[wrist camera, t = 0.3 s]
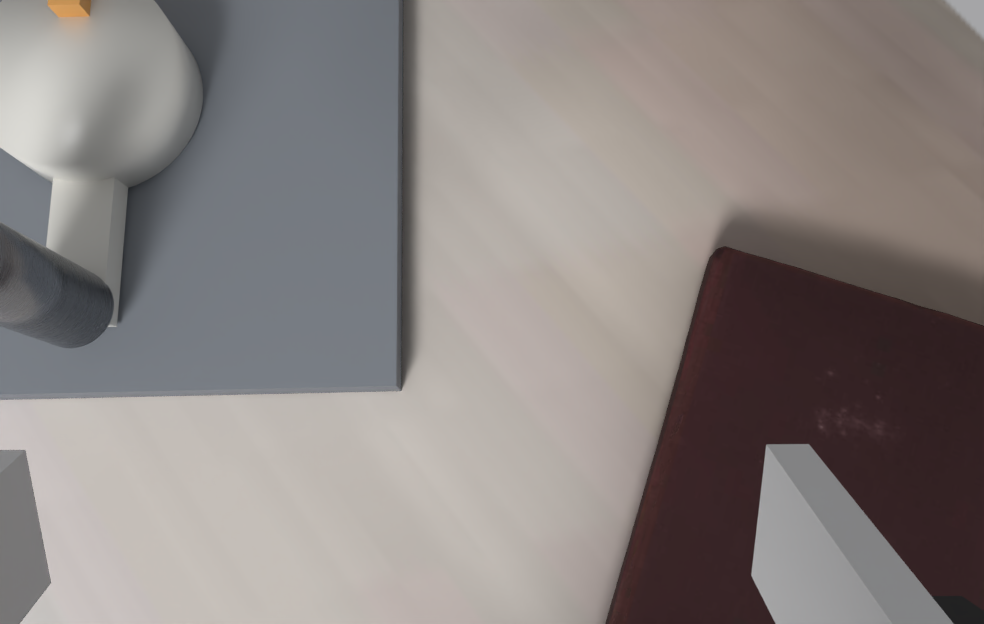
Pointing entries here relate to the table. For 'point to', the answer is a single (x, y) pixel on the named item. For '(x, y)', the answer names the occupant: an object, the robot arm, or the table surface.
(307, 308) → the dial base plate
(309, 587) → the table surface
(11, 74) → the white grey handled piece
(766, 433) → the book
